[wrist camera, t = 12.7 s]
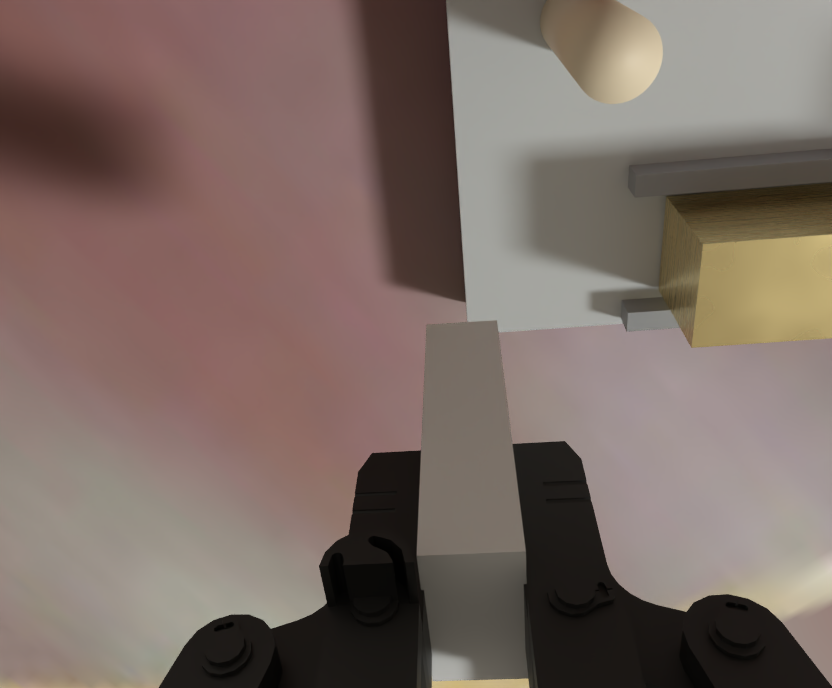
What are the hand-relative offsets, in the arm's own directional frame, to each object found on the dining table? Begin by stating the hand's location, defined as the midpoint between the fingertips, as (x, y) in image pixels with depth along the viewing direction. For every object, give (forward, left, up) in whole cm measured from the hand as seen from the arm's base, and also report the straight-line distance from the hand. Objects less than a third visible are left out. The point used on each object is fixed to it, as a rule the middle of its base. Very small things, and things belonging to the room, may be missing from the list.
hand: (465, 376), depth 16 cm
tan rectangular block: (+9, 0, -6) cm, 11 cm away
